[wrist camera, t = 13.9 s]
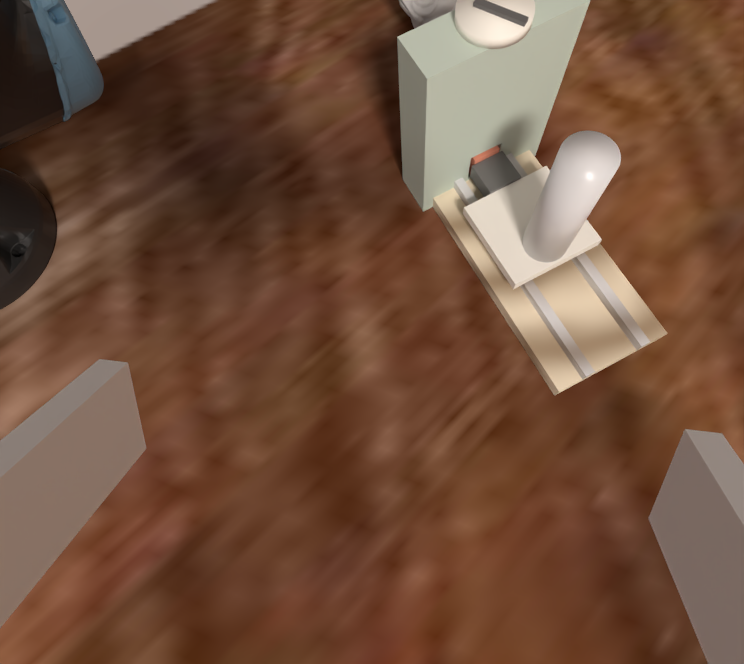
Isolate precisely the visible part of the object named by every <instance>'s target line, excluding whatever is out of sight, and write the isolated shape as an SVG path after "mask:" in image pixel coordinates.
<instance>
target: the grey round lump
mask: <svg viewBox="0 0 744 664" xmlns="http://www.w3.org/2000/svg"><path fill="white" fill-rule="evenodd" d="M399 2H400V6H401V8H402V9H403V10H404V11H405V13H406V14H407V15H408V16H409V17H411V21H412V24H413V27H414V29H415V28H417V27H419V26H421V25H423V24H425V23H428V22H430V21H432V20H434V19H436V18H438V17H440V16H442V15H444V14H447V13H449V12H451V11H453V10H455V6H456V2H457V0H399Z"/></svg>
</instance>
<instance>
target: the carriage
mask: <svg viewBox="0 0 744 664" xmlns="http://www.w3.org/2000/svg"><path fill="white" fill-rule="evenodd" d="M620 162H621V154H620V151H619V148H618V146H617V145H616V143H615V142H614V141H613V140H612V139H611V138H609V137H608V136H606V135H604V134H602V133H599V132H595V131H581V132H577V133H574V134H572V135H570V136H569V137H567V138H566V139H565V140H564V142H563V143H562V145H561V147H560V149H559V151H558V154H557V156H556V158H555V161H554V163H553V166H552V168H551V170H549V169H548V168H547V166H545V167H543V168H541V169H539V170H537V171H535V172H533V173H531V174H529V175H527V176H525V177H523V178H521V175H520V174H519V173H518V171H517V170H516V169H515V167H514V166H513V164H512V163H511V162H510V160H509V159H508V158H507V156H506V155H505V153H504V152H503V151H501V152H499V153H497V154H495V155H493V156H491V157H489V158H487V159H485V160H483V161H481V162H479V163H477V164H474V165H472V168H471V174H470V178H471V179H472V180H473V182H474V183H475V185H476V186H477V188H478V189H479V191H480V192H481V193H482V195H483V196H484V198H482V199H480V200H478V201H476V202H474V203H472V204H470V205H468V206H466V207H464V210H463V215H464V216H465V218H466V219H467V221H468V222H469V224H470V225H471V227H472V228H473V230H474V231H475V233H476V234H477V236H478V237H479V239H480V240H481V242H482V243H483V245H484V246H485V248H486V249H487V251H488V252H489V254H490V255H491V257H492V258H493V260H494V261H495V263H496V264H497V266H498V267H499V269H500V270H501V272H502V273H503V275H504V276H505V278H506V279H507V281H508V282H509V284H510V285H511V287H512V288H513V289H515V288H517V287H519V286H521V285H523V284H525V283H526V282H528V281H530V280H532V279H534V278H536V277H538V276H540V275H542V274H544V273H546V272H548V271H549V270H551V269H553V268H555V267H557V266H559V265H561V264H563V263H565V262H567V261H569V260H571V259H572V258H574V257H576V256H578V255H580V254H582V253H584V252H586V251H588V250H590V249H592V248H594V247H595V246H597V245H598V244H599V243H600V242H601V240H602V239H601V238H600V236H599V235H598V234H597V232H596V231H595V230H594V228H593V227H592V226H591V225H590V223H589V222H588V221H587V217H588V216H589V214H590V213H591V211H592V209H593V208H594V206H595V205H596V203H597V201H598V200H599V198H600V196H601V195H602V193H603V192H604V190H605V188H606V187H607V185H608V184H609V182H610V180H611V179H612V177H613V176H614V174H615V172H616V171H617V169H618V167H619V165H620Z"/></svg>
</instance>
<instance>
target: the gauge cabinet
mask: <svg viewBox="0 0 744 664" xmlns="http://www.w3.org/2000/svg"><path fill="white" fill-rule="evenodd" d="M589 3H590V0H457V2H456V6H455V10H453V11H451V12H449V13H447V14H444V15H442V16H440V17H438V18H436V19H434V20H432V21H430V22H428V23H425V24H423V25H421V26H419V27H417V28H415V29H413V30H411V31H409V32H406V33H404V34H402V35H400V36H398V37H397V45H398V71H399V97H400V123H401V149H402V175H403V181H404V182H405V184H406V185H407V187H408V188H409V190H410V192H411V193H412V195H413V196H414V198H415V199H416V201H417V203H418V204H419V206H420V207H421V209H422V210H423V211H425V210H427V209H429V208H431V207H433V198H434V197H436V196H438V195H440V194H442V193H444V192H446V191H448V190H450V189H452V188H454V181H456V180H458V179H460V178H462V177H463V179H464V180H465V182H466V181H468V180H470V179H471V178H470V174H469V167H470V161H471V158H473V157H475V156H477V155H479V154H481V153H483V152H485V151H487V150H489V149H491V148H493V147H495V146H498V147H499V148H500V150H499V152H501V151H503V152H504V153H505V155H508V154H510V153H512V154H513V156H514V157H516V156H518V155H520V154H522V153H524V152H526V151H528V150H530V151H531V152H532V154H533V155H534V156H535V155H536V152H537V149H538V146H539V143H540V141H541V138H542V135H543V132H544V129H545V126H546V124H547V121H548V118H549V115H550V112H551V110H552V107H553V104H554V101H555V98H556V95H557V93H558V90H559V87H560V84H561V81H562V79H563V76H564V73H565V70H566V67H567V64H568V62H569V59H570V56H571V53H572V50H573V48H574V45H575V42H576V39H577V36H578V34H579V31H580V28H581V25H582V22H583V19H584V17H585V14H586V11H587V8H588V5H589Z"/></svg>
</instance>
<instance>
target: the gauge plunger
mask: <svg viewBox="0 0 744 664" xmlns="http://www.w3.org/2000/svg"><path fill="white" fill-rule="evenodd" d="M499 150H500V148H499V147H498V146H495V147H493V148H491V149H489V150H487V151H485V152H483V153H481V154H479V155H477V156H475V157H473V158H471V161H470V167H469V174H471V168H472V165H474V164H477V163H479V162H481V161H483V160H485V159H487V158H489V157H491V156H493V155H495V154H497V153H499Z"/></svg>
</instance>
